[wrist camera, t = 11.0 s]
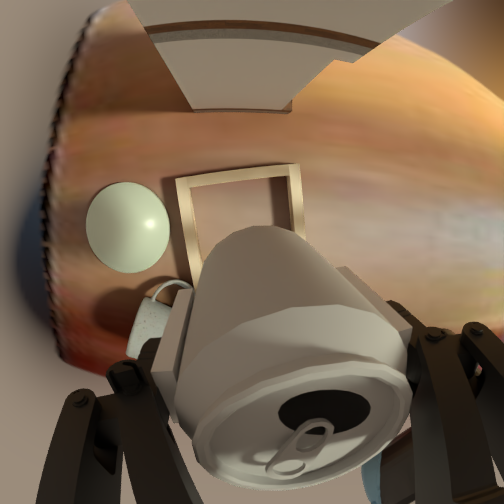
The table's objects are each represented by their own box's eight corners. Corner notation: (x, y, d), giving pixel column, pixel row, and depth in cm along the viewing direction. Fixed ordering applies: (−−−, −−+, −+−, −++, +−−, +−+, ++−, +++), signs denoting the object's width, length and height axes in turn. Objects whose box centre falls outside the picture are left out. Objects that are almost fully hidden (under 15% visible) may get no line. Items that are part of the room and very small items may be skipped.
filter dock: (305, 330, 38) (317, 356, 32) (209, 344, 37) (207, 372, 31) (295, 163, 31) (310, 163, 25) (178, 178, 30) (167, 180, 25)
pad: (177, 264, 33) (176, 267, 32) (100, 275, 33) (97, 277, 32) (162, 174, 30) (160, 174, 29) (81, 192, 29) (78, 192, 29)
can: (340, 255, 17) (471, 373, 6) (282, 347, 19) (330, 501, 7) (233, 199, 16) (252, 284, 4) (181, 307, 17) (139, 477, 6)
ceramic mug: (190, 352, 37) (185, 388, 30) (135, 332, 36) (120, 365, 28) (215, 288, 35) (213, 318, 27) (154, 265, 33) (137, 290, 26)
